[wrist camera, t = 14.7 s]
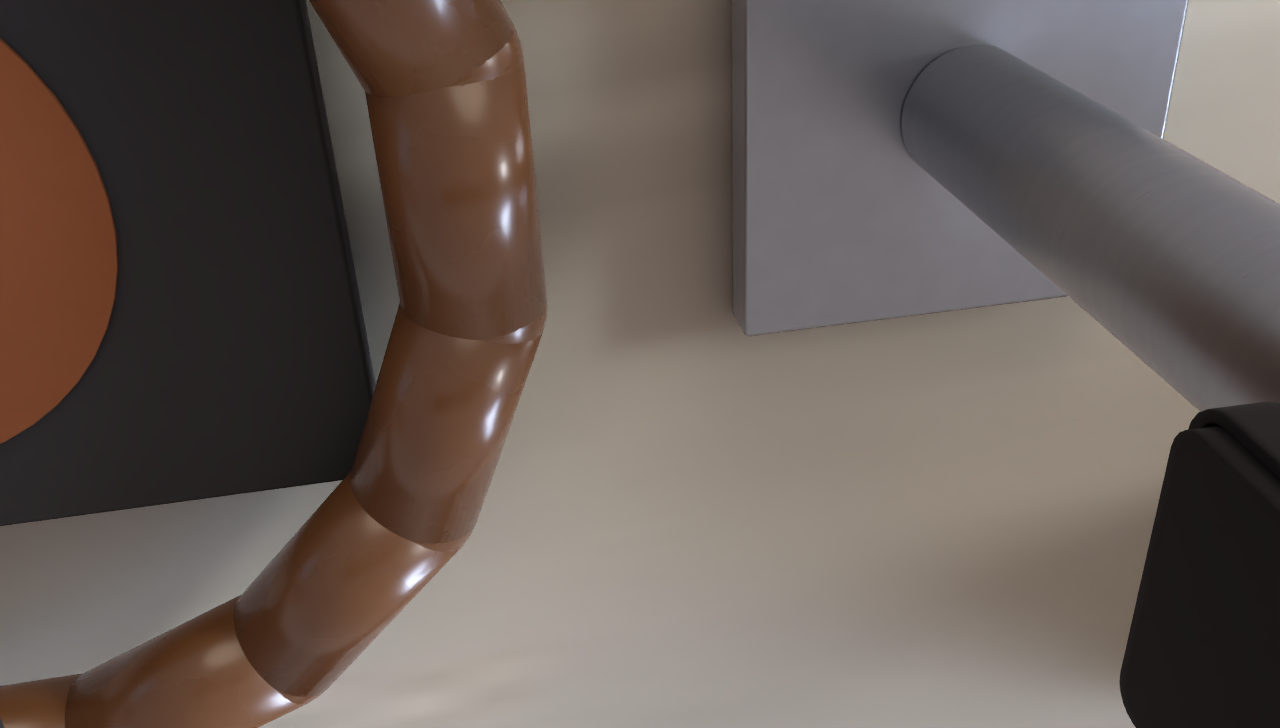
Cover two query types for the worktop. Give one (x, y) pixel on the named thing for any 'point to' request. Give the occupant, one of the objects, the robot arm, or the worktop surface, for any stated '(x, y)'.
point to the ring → (376, 390)
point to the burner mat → (170, 258)
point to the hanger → (994, 179)
